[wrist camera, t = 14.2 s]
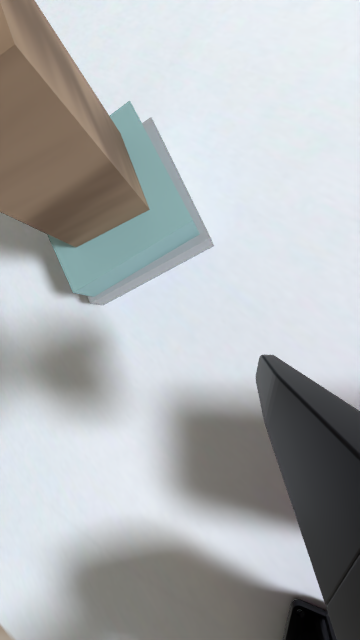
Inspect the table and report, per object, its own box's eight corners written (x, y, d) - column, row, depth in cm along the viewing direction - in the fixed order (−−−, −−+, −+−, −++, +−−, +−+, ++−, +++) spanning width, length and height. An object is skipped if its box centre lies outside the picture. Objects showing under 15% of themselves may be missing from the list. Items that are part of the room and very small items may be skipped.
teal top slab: (199, 234, 18) (193, 220, 16) (93, 296, 20) (73, 292, 18) (144, 128, 20) (129, 100, 17) (48, 196, 21) (23, 180, 19)
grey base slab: (214, 247, 21) (210, 237, 18) (106, 305, 23) (90, 303, 20) (161, 140, 22) (151, 117, 19) (64, 204, 24) (43, 190, 22)
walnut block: (149, 209, 17) (14, 44, 7) (76, 247, 18) (-128, 151, 8) (120, 133, 17) (-42, -117, 8) (51, 174, 18) (-167, 5, 9)
